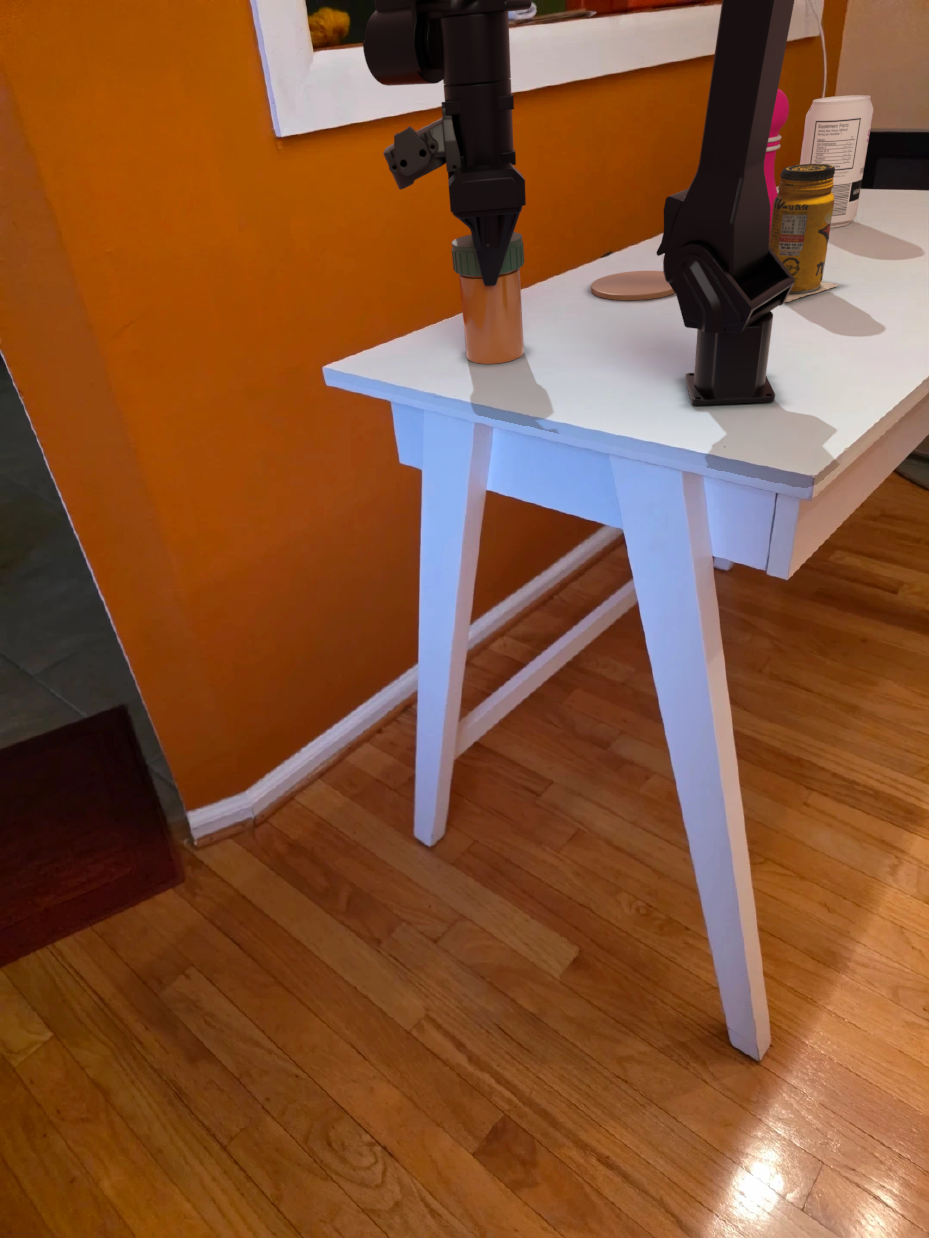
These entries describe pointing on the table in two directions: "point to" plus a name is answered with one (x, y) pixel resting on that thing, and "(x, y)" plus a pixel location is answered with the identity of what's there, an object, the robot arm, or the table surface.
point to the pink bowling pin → (774, 145)
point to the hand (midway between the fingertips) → (488, 276)
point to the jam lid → (468, 261)
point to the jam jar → (492, 318)
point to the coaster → (632, 286)
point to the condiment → (803, 225)
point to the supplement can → (839, 147)
